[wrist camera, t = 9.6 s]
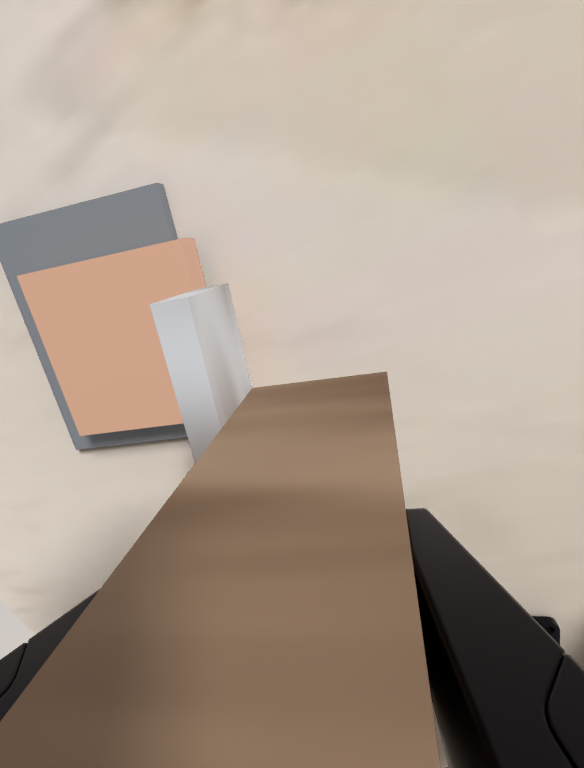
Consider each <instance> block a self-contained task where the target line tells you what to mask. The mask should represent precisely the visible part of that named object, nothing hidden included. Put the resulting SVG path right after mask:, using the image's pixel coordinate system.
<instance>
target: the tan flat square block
mask: <svg viewBox="0 0 584 768" xmlns="http://www.w3.org/2000/svg"><path fill="white" fill-rule="evenodd" d="M17 278H18V281H19V283H20V286H21V288H22V291H23V294H24V296H25V299H26V301H27V304H28V306H29V309H30V311H31V314H32V316H33V319H34V321H35V324H36V326H37V329H38V331H39V334H40V337H41V339H42V342H43V344H44V347H45V349H46V352H47V354H48V357H49V359H50V362H51V364H52V367H53V369H54V372H55V374H56V377H57V380H58V382H59V385H60V387H61V390H62V392H63V395H64V397H65V400H66V402H67V405H68V407H69V410H70V412H71V415H72V417H73V420H74V422H75V425H76V428H77V430H78V433H79V435H80V436H85V435H93V434H101V433H109V432H117V431H125V430H134V429H142V428H150V427H158V426H166V425H174V424H182V423H183V419H182V416H181V412H180V409H179V405H178V402H177V399H176V395H175V392H174V388H173V385H172V381H171V378H170V374H169V371H168V367H167V364H166V360H165V357H164V353H163V350H162V346H161V343H160V339H159V336H158V332H157V329H156V325H155V322H154V318H153V315H152V311H151V308H150V304H152V303H155V302H159V301H162V300H165V299H168V298H171V297H174V296H177V295H180V294H184V293H187V292H190V291H193V290H196V289H200V288H205V287H206V283H205V279H204V275H203V271H202V267H201V263H200V260H199V256H198V252H197V248H196V244H195V240H194V238H184V239H177V240H172V241H168V242H163V243H159V244H155V245H150V246H146V247H141V248H137V249H133V250H128V251H124V252H119V253H115V254H111V255H106V256H102V257H97V258H93V259H89V260H84V261H80V262H76V263H71V264H67V265H62V266H58V267H54V268H49V269H45V270H40V271H36V272H32V273H27V274H23V275H18V276H17Z"/></svg>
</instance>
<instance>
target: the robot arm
mask: <svg viewBox="0 0 584 768" xmlns="http://www.w3.org/2000/svg"><path fill="white" fill-rule="evenodd" d="M405 510H406V517H407V524H408V532H409V539H410V546H411V554H412V561H413V568H414V576H415V583H416V590H417V598H418V605H419V613H420V620H421V627H422V635H423V642H424V649H425V657H426V664H427V671H428V679H429V686H430V693H431V697H432V702H433V706H434V710H435V714H436V718H437V722H438V726H439V730H440V734H441V738H442V742H443V747H444V751H445V755H446V759H447V763H448V767H447V768H584V669H583V668H582V667H581V666H580V665H579V664H578V663H577V662H576V661H575V660H574V659H573V658H572V657H571V656H570V655H565V651H564V649H563V648H562V647H561V646H560V629H559V626H558V624H557V622H556V621H555V620H554V619H553V618H551V617H532V616H531V615H530V614H529V613H528V612H527V611H526V610H525V609H524V608H523V607H522V606H521V605H520V604H519V603H518V602H517V601H516V600H515V599H514V598H513V597H512V596H511V595H510V594H509V593H508V592H507V591H506V590H505V589H504V588H503V587H502V586H501V585H500V584H499V583H498V582H497V581H496V580H495V578H494V577H493V576H492V575H491V574H490V573H489V572H488V571H487V570H486V569H485V568H484V567H483V566H482V565H481V564H480V563H479V562H478V561H477V560H476V559H475V558H474V557H473V556H472V555H471V554H470V553H469V552H468V551H467V550H466V549H465V548H464V547H463V546H462V545H461V544H460V543H459V542H458V541H457V540H456V539H455V538H454V537H453V536H452V534H451V533H450V532H449V531H448V530H447V529H446V528H445V527H444V526H443V525H442V524H441V523H440V522H439V521H438V520H437V519H436V518H435V517H434V516H433V515H432V514H431V513H430V512H429V511H428V510H427V509H425V508H418V509H405ZM99 590H100V589H99ZM99 590H98V591H96V592H95V593H94V594H92V595H91V596H89V597H88V598H87V599H85V600H84V601H82V602H81V603H80V604H78V605H77V606H75V607H74V608H73V609H71V610H70V611H68V612H67V613H66V614H64V615H63V616H61V617H60V618H58V619H57V620H56V621H54V622H53V623H51V624H50V625H49V626H47V627H46V628H44V629H43V630H42V631H40V632H39V633H37V634H36V635H35V636H33V637H32V638H30V639H29V641H28V644H27V643H23V644H22V645H20V646H19V647H18V648H16V649H15V650H13V651H12V652H11V653H9V654H8V655H6V656H5V657H4V658H2V659H1V660H0V721H1V720H2V719H3V717H4V716H5V715H6V713H7V712H8V711H9V710H10V708H11V707H12V706H13V704H14V703H15V702H16V700H17V699H18V698H19V696H20V695H21V694H22V692H23V691H24V690H25V688H26V687H27V686H28V684H29V683H30V682H31V680H32V679H33V678H34V676H35V675H36V674H37V672H38V671H39V670H40V668H41V667H42V666H43V664H44V663H45V662H46V660H47V659H48V658H49V657H50V655H51V654H52V653H53V651H54V650H55V649H56V647H57V646H58V645H59V643H60V642H61V641H62V639H63V638H64V637H65V635H66V634H67V633H68V631H69V630H70V629H71V627H72V626H73V625H74V623H75V622H76V621H77V619H78V618H79V617H80V615H81V614H82V613H83V611H84V610H85V609H86V607H87V606H88V605H89V604H90V602H91V601H92V600H93V598H94V597H95V596H96V594H97V593H98V592H99Z"/></svg>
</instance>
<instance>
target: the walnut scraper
mask: <svg viewBox="0 0 584 768" xmlns="http://www.w3.org/2000/svg"><path fill="white" fill-rule="evenodd" d="M150 308H151V311H152V315H153V318H154V322H155V325H156V329H157V332H158V336H159V339H160V343H161V346H162V350H163V353H164V357H165V360H166V364H167V367H168V371H169V374H170V378H171V381H172V385H173V388H174V392H175V395H176V399H177V402H178V405H179V409H180V412H181V416H182V419H183V423H184V426H185V430H186V433H187V437H188V440H189V444H190V447H191V451H192V454H193V458H194V461H195V464H194V466H193V467H192V468H191V470H190V471H189V472H188V474H187V475H186V476H185V478H184V479H183V480H182V482H181V483H180V484H179V486H178V487H177V488H176V490H175V491H174V492H173V494H172V495H171V496H170V498H169V499H168V500H167V501H166V503H165V504H164V505H163V507H162V508H161V509H160V511H159V512H158V513H157V515H156V516H155V517H154V519H153V520H152V521H151V523H150V524H149V525H148V527H147V528H146V529H145V531H144V532H143V533H142V535H141V536H140V537H139V539H138V540H137V541H136V543H135V544H134V545H133V547H132V548H131V549H130V551H129V552H128V553H127V554H126V556H125V557H124V558H123V560H122V561H121V562H120V564H119V565H118V566H117V568H116V569H115V570H114V572H113V573H112V574H111V576H110V577H109V578H108V580H107V581H106V582H105V584H104V585H103V586H102V588H101V589H100V590H99V592H98V593H97V594H96V596H95V597H94V598H93V600H92V601H91V602H90V604H89V605H88V606H87V607H86V609H85V610H84V611H83V613H82V614H81V615H80V617H79V618H78V619H77V621H76V622H75V623H74V625H73V626H72V627H71V629H70V630H69V631H68V633H67V634H66V635H65V637H64V638H63V639H62V641H61V642H60V643H59V645H58V646H57V647H56V649H55V650H54V651H53V653H52V654H51V655H50V657H49V658H48V659H47V660H46V662H45V663H44V664H43V666H42V667H41V668H40V670H39V671H38V672H37V674H36V675H35V676H34V678H33V679H32V680H31V682H30V683H29V684H28V686H27V687H26V688H25V690H24V691H23V692H22V694H21V695H20V696H19V698H18V699H17V700H16V702H15V703H14V704H13V706H12V707H11V708H10V710H9V711H8V712H7V713H6V715H5V716H4V717H3V719H2V720H1V721H0V768H441V767H440V760H439V752H438V745H437V737H436V730H435V723H434V715H433V708H432V701H431V693H430V686H429V679H428V671H427V664H426V657H425V649H424V642H423V635H422V627H421V620H420V613H419V605H418V598H417V590H416V583H415V576H414V568H413V561H412V554H411V546H410V539H409V532H408V524H407V517H406V510H405V502H404V495H403V488H402V480H401V473H400V465H399V458H398V451H397V443H396V436H395V429H394V421H393V414H392V407H391V399H390V392H389V385H388V377H387V372H380V373H372V374H364V375H356V376H348V377H339V378H331V379H323V380H315V381H307V382H298V383H290V384H282V385H274V386H266V387H257V388H252V386H251V381H250V377H249V373H248V368H247V364H246V359H245V355H244V350H243V346H242V342H241V337H240V333H239V328H238V324H237V319H236V315H235V311H234V306H233V302H232V297H231V293H230V289H229V284H228V283H227V284H222V285H216V286H211V287H205V288H200V289H196V290H193V291H190V292H187V293H184V294H180V295H177V296H174V297H171V298H168V299H165V300H162V301H159V302H155V303H152V304H150Z"/></svg>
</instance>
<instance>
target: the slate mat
mask: <svg viewBox="0 0 584 768" xmlns="http://www.w3.org/2000/svg"><path fill="white" fill-rule="evenodd" d="M177 239H178V238H177V234H176V230H175V227H174V223H173V219H172V215H171V212H170V208H169V204H168V201H167V197H166V193H165V189H164V186H163V184H160V183H154V184H151V185H147V186H143V187H139V188H135V189H131V190H128V191H124V192H120V193H116V194H112V195H108V196H104V197H101V198H97V199H93V200H89V201H85V202H81V203H78V204H74V205H70V206H66V207H62V208H58V209H54V210H51V211H47V212H43V213H39V214H35V215H31V216H27V217H24V218H20V219H16V220H12V221H8V222H4V223H1V224H0V262H1V264H2V267H3V269H4V272H5V274H6V277H7V279H8V282H9V284H10V286H11V289H12V291H13V294H14V296H15V299H16V301H17V304H18V306H19V309H20V311H21V314H22V316H23V319H24V321H25V324H26V326H27V329H28V331H29V334H30V336H31V339H32V341H33V344H34V346H35V349H36V351H37V354H38V356H39V359H40V361H41V364H42V366H43V369H44V371H45V374H46V376H47V379H48V381H49V384H50V386H51V389H52V391H53V394H54V396H55V399H56V401H57V404H58V406H59V409H60V411H61V414H62V416H63V419H64V421H65V424H66V426H67V429H68V431H69V434H70V436H71V439H72V441H73V444H74V446H75V448H76V450H79V449H88V448H97V447H106V446H114V445H123V444H132V443H141V442H150V441H158V440H167V439H176V438H185V437H187V433H186V430H185V426H184V423H182V424H174V425H166V426H158V427H150V428H142V429H134V430H125V431H117V432H109V433H101V434H93V435H85V436H80V435H79V433H78V430H77V428H76V425H75V422H74V420H73V417H72V415H71V412H70V410H69V407H68V405H67V402H66V400H65V397H64V395H63V392H62V390H61V387H60V385H59V382H58V380H57V377H56V374H55V372H54V369H53V367H52V364H51V362H50V359H49V357H48V354H47V352H46V349H45V347H44V344H43V342H42V339H41V337H40V334H39V331H38V329H37V326H36V324H35V321H34V319H33V316H32V314H31V311H30V309H29V306H28V304H27V301H26V299H25V296H24V294H23V291H22V288H21V286H20V283H19V281H18V278H17V276H18V275H23V274H27V273H32V272H36V271H40V270H45V269H49V268H54V267H58V266H62V265H67V264H71V263H76V262H80V261H84V260H89V259H93V258H97V257H102V256H106V255H111V254H115V253H119V252H124V251H128V250H133V249H137V248H141V247H146V246H150V245H155V244H159V243H163V242H168V241H172V240H177Z"/></svg>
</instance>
